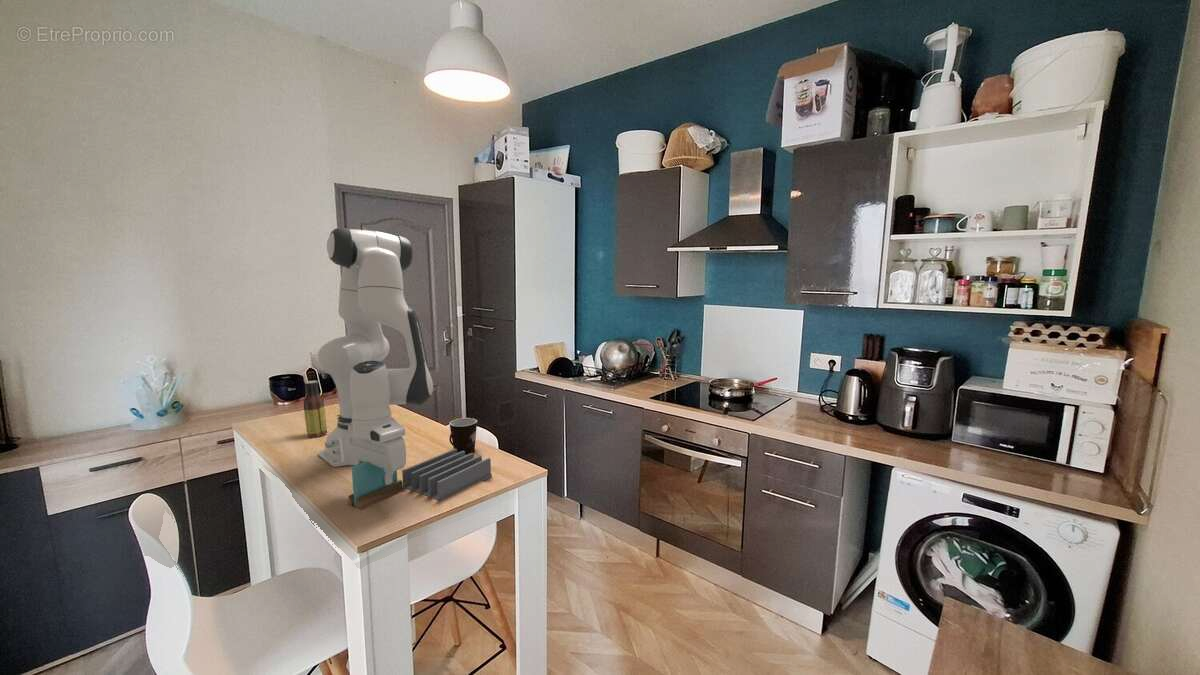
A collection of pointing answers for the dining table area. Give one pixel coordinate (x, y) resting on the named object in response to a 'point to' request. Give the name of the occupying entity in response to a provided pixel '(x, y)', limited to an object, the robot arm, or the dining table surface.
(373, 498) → the stand
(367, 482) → the plate
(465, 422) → the coffee mug
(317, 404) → the sauce bottle
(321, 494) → the dining table surface
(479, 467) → the rack
